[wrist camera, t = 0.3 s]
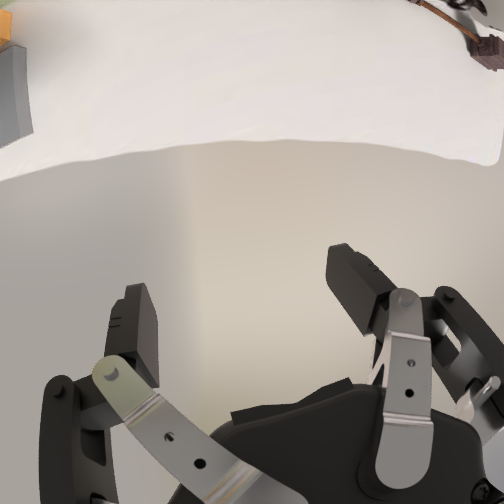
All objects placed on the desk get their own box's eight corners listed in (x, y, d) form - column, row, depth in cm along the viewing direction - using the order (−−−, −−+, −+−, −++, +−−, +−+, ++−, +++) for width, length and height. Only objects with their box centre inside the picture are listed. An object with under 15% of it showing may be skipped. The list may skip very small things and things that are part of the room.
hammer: (489, 71, 35) (517, 74, 26) (384, 11, 32) (411, -1, 23) (489, 49, 31) (517, 51, 23) (384, -13, 28) (409, -27, 20)
